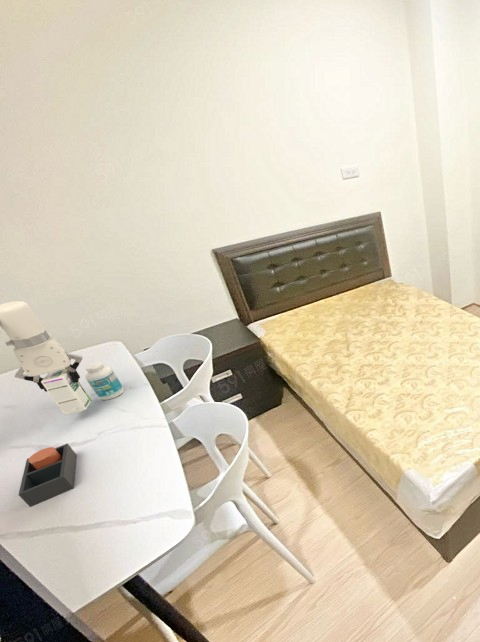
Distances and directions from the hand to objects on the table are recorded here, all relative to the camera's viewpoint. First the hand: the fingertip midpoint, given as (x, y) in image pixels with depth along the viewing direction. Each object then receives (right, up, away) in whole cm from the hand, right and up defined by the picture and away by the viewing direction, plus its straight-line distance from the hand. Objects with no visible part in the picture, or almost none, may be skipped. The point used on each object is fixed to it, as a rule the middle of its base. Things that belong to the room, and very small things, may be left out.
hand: (62, 384), depth 134 cm
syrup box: (0, -9, +5) cm, 10 cm away
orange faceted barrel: (+15, -23, -16) cm, 32 cm away
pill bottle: (0, -6, +17) cm, 19 cm away
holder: (+18, -26, -18) cm, 36 cm away
